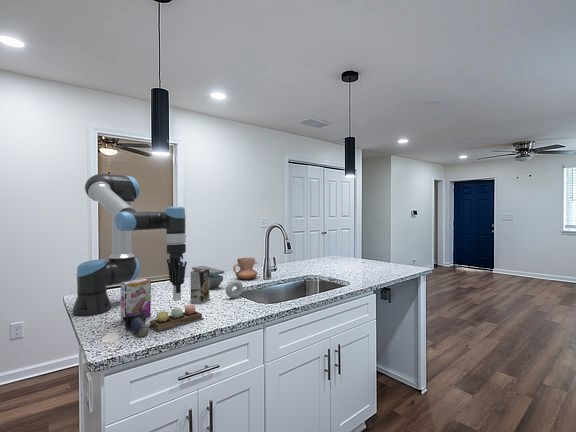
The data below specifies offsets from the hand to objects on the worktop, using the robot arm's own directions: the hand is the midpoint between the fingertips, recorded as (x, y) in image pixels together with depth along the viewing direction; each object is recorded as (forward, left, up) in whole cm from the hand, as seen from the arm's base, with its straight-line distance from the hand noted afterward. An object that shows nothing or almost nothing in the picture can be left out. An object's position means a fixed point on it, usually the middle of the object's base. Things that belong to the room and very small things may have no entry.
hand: (177, 300), depth 130 cm
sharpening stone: (-46, +43, -10) cm, 64 cm away
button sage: (0, 0, -7) cm, 7 cm away
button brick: (0, +6, -7) cm, 9 cm away
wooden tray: (0, 0, -10) cm, 10 cm away
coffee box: (-21, +23, -10) cm, 33 cm away
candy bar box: (-18, -10, -10) cm, 23 cm away
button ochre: (0, -6, -7) cm, 9 cm away
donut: (-13, +39, -10) cm, 42 cm away
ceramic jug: (-46, +73, -10) cm, 87 cm away
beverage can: (-2, -15, -10) cm, 18 cm away
